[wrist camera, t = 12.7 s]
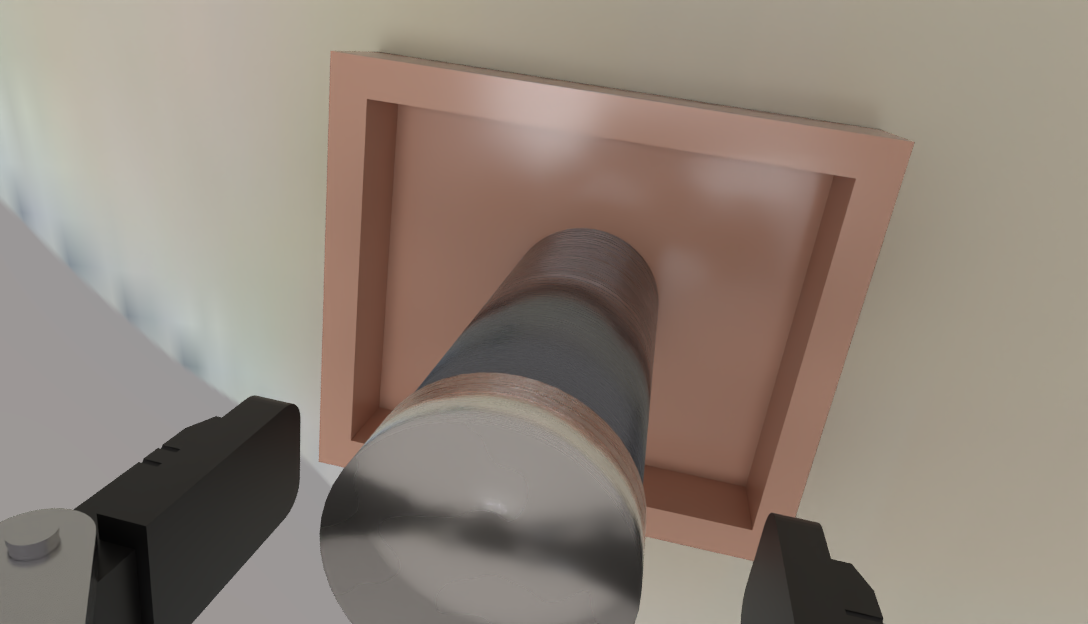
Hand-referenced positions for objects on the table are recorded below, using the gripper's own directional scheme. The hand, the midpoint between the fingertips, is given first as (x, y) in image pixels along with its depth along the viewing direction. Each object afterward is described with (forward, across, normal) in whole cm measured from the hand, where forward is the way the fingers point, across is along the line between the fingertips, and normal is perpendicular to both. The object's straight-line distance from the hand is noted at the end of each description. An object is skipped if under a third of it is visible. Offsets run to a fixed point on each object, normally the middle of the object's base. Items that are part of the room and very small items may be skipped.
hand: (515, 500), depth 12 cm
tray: (+11, 0, 0) cm, 11 cm away
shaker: (+10, 0, 0) cm, 10 cm away
